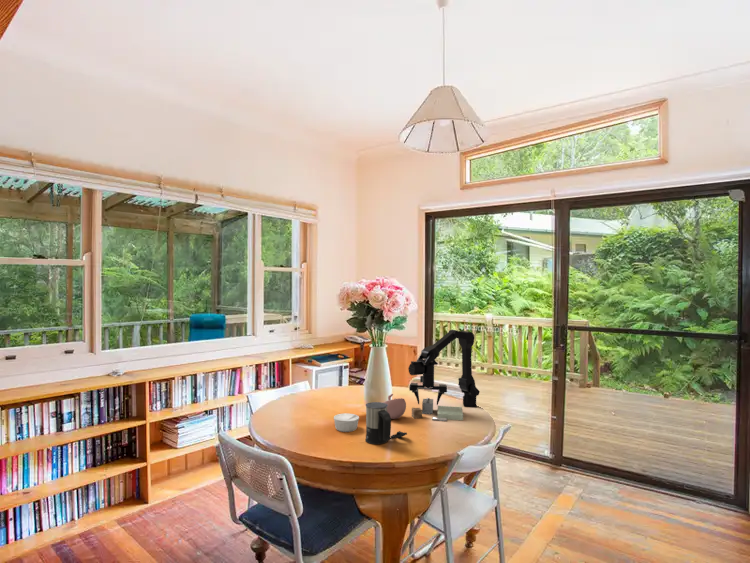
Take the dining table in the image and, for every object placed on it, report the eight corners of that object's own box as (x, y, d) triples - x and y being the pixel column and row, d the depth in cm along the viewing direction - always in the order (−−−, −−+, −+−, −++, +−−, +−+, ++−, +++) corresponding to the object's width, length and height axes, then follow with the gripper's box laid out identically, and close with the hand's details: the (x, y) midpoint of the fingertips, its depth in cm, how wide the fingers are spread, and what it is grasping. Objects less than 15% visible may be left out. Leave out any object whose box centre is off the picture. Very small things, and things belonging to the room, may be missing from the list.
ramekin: (360, 432, 193) (360, 420, 193) (334, 433, 191) (334, 421, 191) (357, 424, 204) (357, 412, 204) (332, 425, 202) (332, 413, 202)
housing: (433, 410, 229) (433, 398, 229) (432, 414, 221) (432, 402, 221) (422, 409, 230) (423, 397, 230) (422, 414, 222) (422, 401, 222)
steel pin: (447, 420, 212) (447, 417, 212) (447, 422, 210) (447, 418, 210) (432, 419, 213) (432, 416, 213) (432, 421, 211) (432, 418, 211)
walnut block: (419, 415, 219) (419, 407, 219) (422, 418, 215) (422, 410, 215) (411, 416, 218) (411, 408, 218) (414, 418, 214) (414, 410, 214)
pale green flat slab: (461, 411, 226) (461, 406, 226) (463, 420, 212) (463, 414, 212) (437, 410, 228) (437, 405, 228) (437, 418, 214) (437, 413, 214)
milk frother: (360, 440, 183) (360, 404, 183) (385, 431, 195) (385, 397, 195) (386, 449, 174) (387, 411, 174) (411, 439, 185) (411, 403, 185)
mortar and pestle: (397, 413, 222) (398, 390, 222) (410, 420, 211) (411, 396, 211) (376, 416, 216) (376, 392, 216) (388, 423, 206) (388, 398, 206)
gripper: (446, 371, 232) (446, 401, 232) (410, 369, 235) (410, 399, 235) (447, 375, 221) (446, 407, 221) (409, 374, 224) (409, 405, 224)
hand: (427, 404), depth 226 cm, fingers open, 9 cm apart
